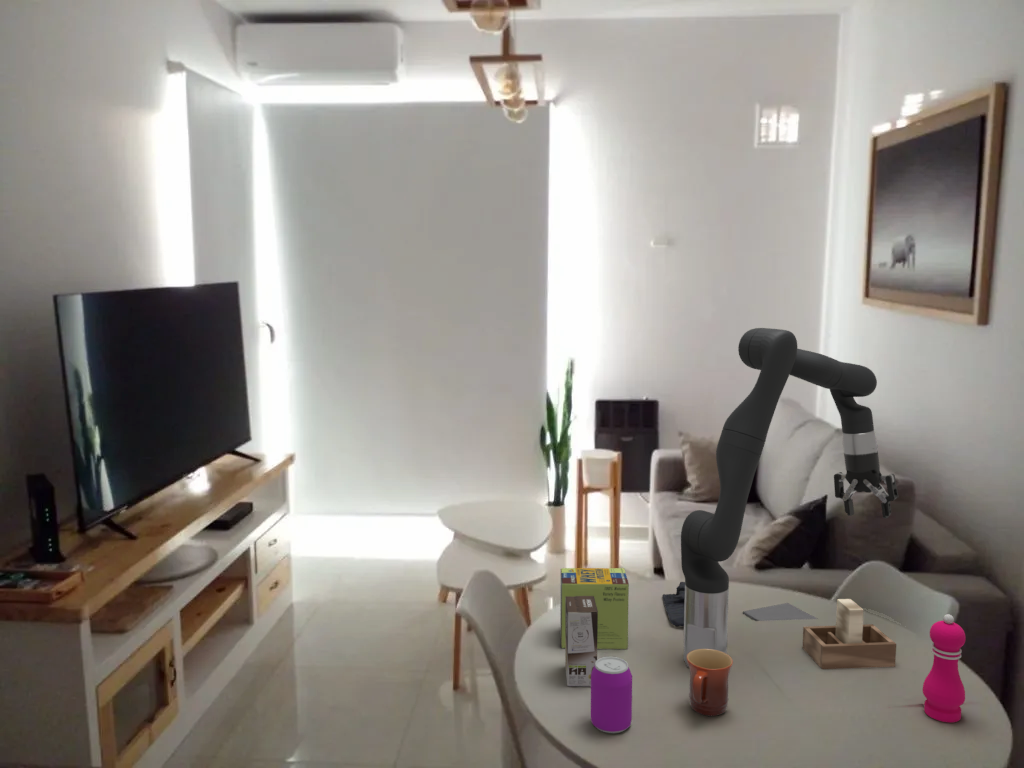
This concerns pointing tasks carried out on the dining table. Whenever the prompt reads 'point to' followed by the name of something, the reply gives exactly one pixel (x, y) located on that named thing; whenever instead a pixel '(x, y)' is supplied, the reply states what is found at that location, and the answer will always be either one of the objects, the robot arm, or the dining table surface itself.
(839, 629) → the ash block
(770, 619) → the rubber mat
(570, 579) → the protein box
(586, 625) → the coffee box
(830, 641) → the walnut box
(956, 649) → the pepper mill
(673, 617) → the dark slate chunk
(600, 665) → the beverage can
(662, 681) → the dining table surface
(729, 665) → the mug
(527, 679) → the dining table surface
